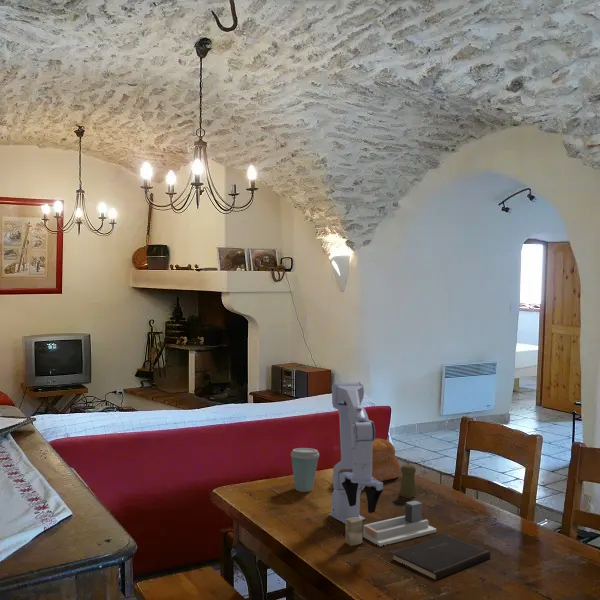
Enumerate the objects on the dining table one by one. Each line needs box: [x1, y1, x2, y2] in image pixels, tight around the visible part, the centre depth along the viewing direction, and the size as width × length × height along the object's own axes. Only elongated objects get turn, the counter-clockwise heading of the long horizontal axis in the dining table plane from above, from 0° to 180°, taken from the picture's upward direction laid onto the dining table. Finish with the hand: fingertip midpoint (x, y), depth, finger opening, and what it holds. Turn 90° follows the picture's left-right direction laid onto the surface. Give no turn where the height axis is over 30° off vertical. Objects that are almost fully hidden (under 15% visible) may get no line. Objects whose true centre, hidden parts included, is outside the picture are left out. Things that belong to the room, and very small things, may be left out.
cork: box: [399, 463, 417, 499], centre depth 238 cm, size 6×6×11 cm
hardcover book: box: [391, 533, 491, 581], centre depth 185 cm, size 16×23×2 cm
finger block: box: [344, 517, 364, 547], centre depth 195 cm, size 3×4×7 cm, turn 121°
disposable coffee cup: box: [290, 447, 320, 493], centre depth 243 cm, size 11×11×15 cm
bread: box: [339, 437, 401, 488], centre depth 255 cm, size 14×26×15 cm, turn 130°
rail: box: [363, 500, 437, 547], centre depth 203 cm, size 12×22×8 cm, turn 121°
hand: (361, 508), depth 194 cm, fingers open, 7 cm apart
